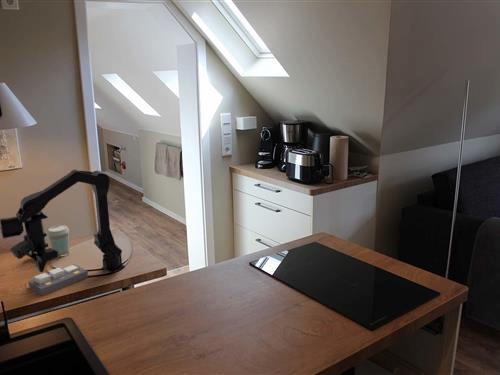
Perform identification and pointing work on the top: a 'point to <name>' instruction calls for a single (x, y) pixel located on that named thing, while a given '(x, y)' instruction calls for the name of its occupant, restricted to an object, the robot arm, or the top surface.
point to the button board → (58, 281)
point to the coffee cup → (59, 239)
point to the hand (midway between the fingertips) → (41, 271)
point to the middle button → (56, 273)
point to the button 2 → (70, 269)
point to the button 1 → (42, 278)
